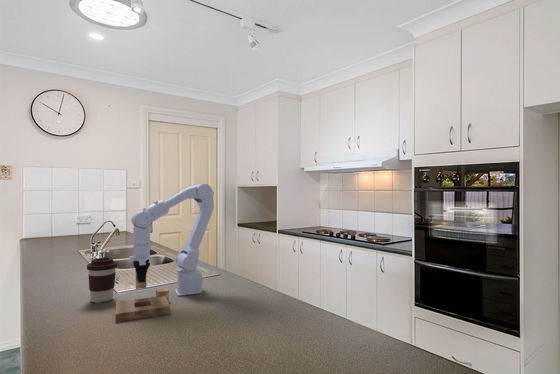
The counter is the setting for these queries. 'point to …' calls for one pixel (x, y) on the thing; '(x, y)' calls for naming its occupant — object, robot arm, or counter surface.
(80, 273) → the counter surface
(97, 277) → the coffee cup
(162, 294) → the tan cubic piece
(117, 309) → the hole board
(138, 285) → the square peg
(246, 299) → the counter surface
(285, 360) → the counter surface
